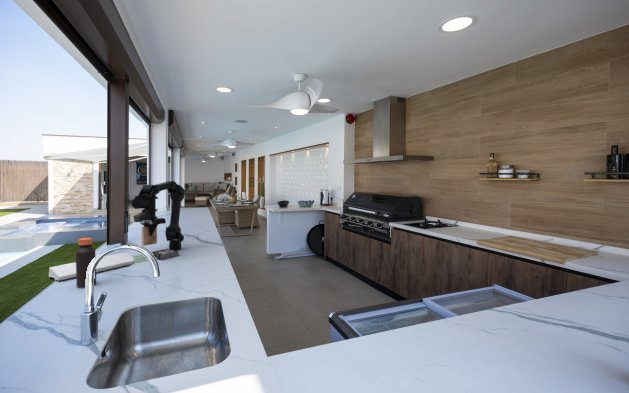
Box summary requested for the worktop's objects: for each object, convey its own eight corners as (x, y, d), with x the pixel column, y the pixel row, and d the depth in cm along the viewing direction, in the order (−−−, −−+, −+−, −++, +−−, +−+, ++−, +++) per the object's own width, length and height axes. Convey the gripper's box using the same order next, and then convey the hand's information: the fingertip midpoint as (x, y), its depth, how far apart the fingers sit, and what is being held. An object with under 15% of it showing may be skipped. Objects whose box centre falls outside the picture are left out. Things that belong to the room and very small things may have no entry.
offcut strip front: (171, 255, 184) (171, 250, 183) (173, 256, 183) (173, 251, 183) (162, 258, 178) (162, 253, 178) (164, 258, 177) (164, 253, 177)
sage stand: (144, 259, 178) (144, 252, 178) (154, 260, 175) (153, 254, 174) (125, 263, 168) (125, 256, 168) (135, 265, 165) (134, 258, 165)
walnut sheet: (154, 243, 180) (154, 225, 179) (156, 243, 179) (156, 225, 179) (141, 245, 173) (141, 227, 172) (143, 245, 172) (143, 227, 172)
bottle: (86, 288, 131) (84, 240, 130) (72, 287, 132) (70, 240, 131) (100, 283, 138) (99, 237, 136) (87, 282, 139) (85, 237, 138)
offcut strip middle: (168, 255, 185) (168, 250, 185) (170, 255, 184) (170, 250, 184) (159, 257, 180) (158, 252, 179) (160, 257, 179) (160, 252, 179)
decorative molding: (135, 268, 168) (125, 260, 173) (137, 259, 167) (126, 252, 172) (58, 286, 139) (48, 276, 143) (59, 277, 138) (49, 267, 142)
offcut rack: (166, 254, 190) (166, 248, 190) (180, 256, 185) (180, 250, 184) (148, 258, 179) (148, 252, 179) (162, 261, 174) (162, 255, 174)
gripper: (124, 207, 172) (124, 236, 173) (147, 209, 164) (147, 239, 165) (143, 206, 182) (143, 233, 183) (166, 208, 174) (166, 236, 175)
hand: (149, 235), depth 176 cm, fingers closed on walnut sheet, 2 cm apart
